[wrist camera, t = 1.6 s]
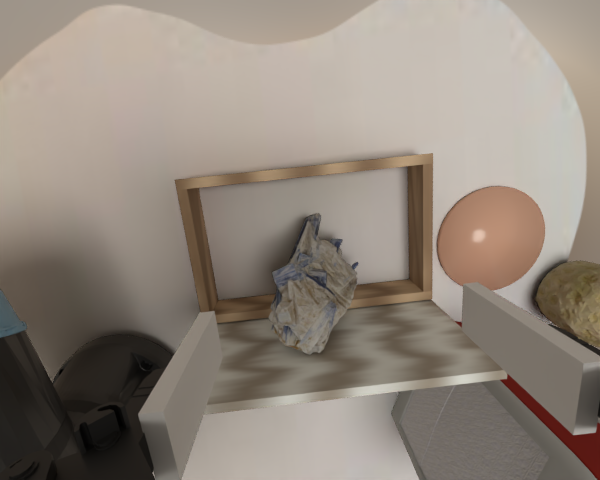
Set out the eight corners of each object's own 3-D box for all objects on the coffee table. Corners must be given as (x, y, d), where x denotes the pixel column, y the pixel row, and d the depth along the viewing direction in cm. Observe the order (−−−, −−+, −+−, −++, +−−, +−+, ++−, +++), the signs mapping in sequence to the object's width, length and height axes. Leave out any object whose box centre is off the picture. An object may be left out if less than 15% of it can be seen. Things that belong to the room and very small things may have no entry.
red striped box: (430, 313, 39) (724, 611, 13) (549, 342, 41) (1021, 654, 15) (388, 417, 43) (552, 817, 16) (500, 439, 44) (809, 831, 18)
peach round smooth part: (436, 294, 38) (439, 296, 38) (437, 192, 35) (440, 192, 35) (536, 283, 39) (540, 285, 38) (545, 180, 36) (550, 181, 35)
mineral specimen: (317, 369, 28) (337, 361, 24) (240, 321, 27) (249, 306, 24) (364, 255, 36) (383, 238, 33) (306, 218, 36) (319, 197, 33)
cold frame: (213, 315, 38) (161, 419, 22) (187, 178, 34) (103, 187, 18) (417, 293, 38) (507, 378, 23) (416, 154, 34) (524, 144, 19)
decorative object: (542, 246, 41) (549, 270, 33) (649, 262, 36) (688, 294, 28) (526, 307, 44) (529, 342, 36) (623, 330, 38) (652, 377, 30)
